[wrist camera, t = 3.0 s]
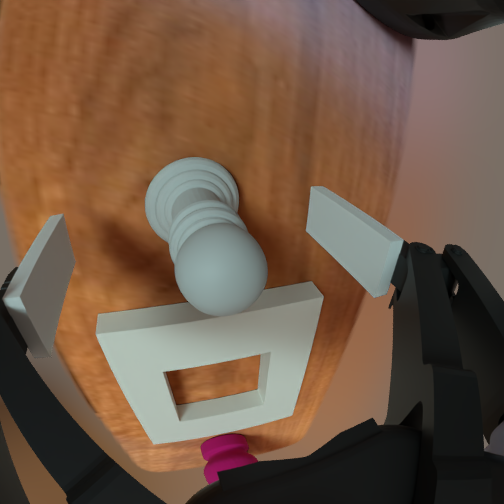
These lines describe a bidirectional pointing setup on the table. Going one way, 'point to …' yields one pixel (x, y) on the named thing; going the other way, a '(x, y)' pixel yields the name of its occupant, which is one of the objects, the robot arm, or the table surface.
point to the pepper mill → (225, 454)
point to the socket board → (212, 359)
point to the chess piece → (206, 236)
